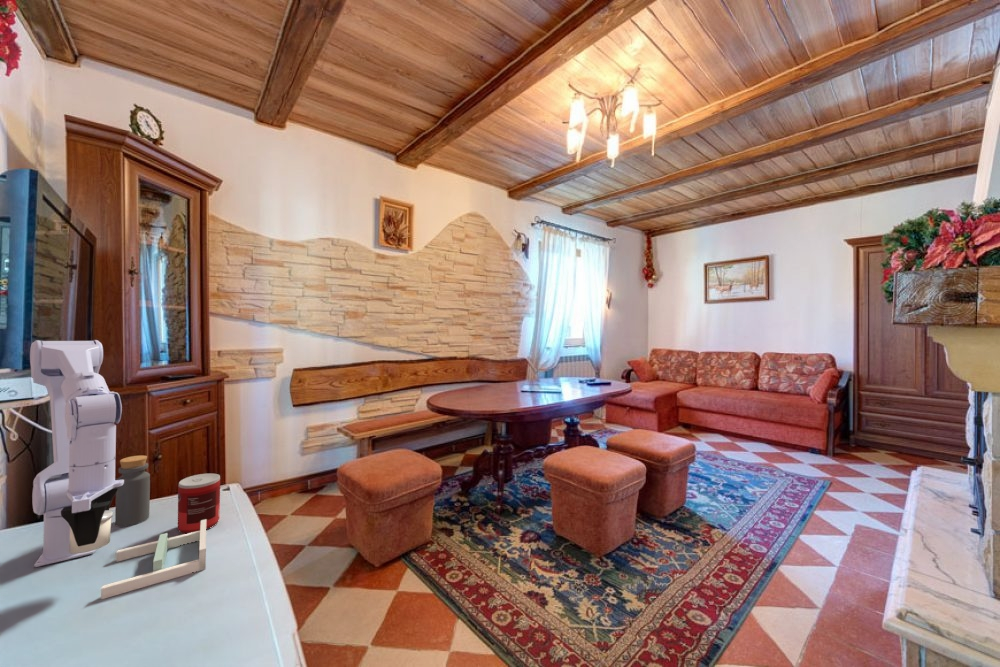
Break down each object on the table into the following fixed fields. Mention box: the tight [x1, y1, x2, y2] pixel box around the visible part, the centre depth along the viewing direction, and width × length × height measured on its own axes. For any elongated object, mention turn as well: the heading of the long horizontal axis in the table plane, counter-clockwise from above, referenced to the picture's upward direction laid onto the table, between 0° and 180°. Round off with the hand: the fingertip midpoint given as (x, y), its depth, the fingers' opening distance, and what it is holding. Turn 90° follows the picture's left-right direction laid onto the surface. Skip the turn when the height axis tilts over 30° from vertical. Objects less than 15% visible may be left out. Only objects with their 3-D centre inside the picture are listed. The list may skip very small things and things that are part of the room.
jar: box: [69, 509, 114, 554], centre depth 68 cm, size 5×5×5 cm
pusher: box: [152, 532, 169, 572], centre depth 74 cm, size 11×1×3 cm, turn 38°
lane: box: [100, 519, 207, 600], centre depth 74 cm, size 14×14×4 cm
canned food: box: [177, 473, 221, 534], centre depth 88 cm, size 8×8×11 cm
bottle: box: [114, 455, 151, 528], centre depth 90 cm, size 6×6×15 cm
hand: (91, 536), depth 68 cm, fingers closed on jar, 5 cm apart
